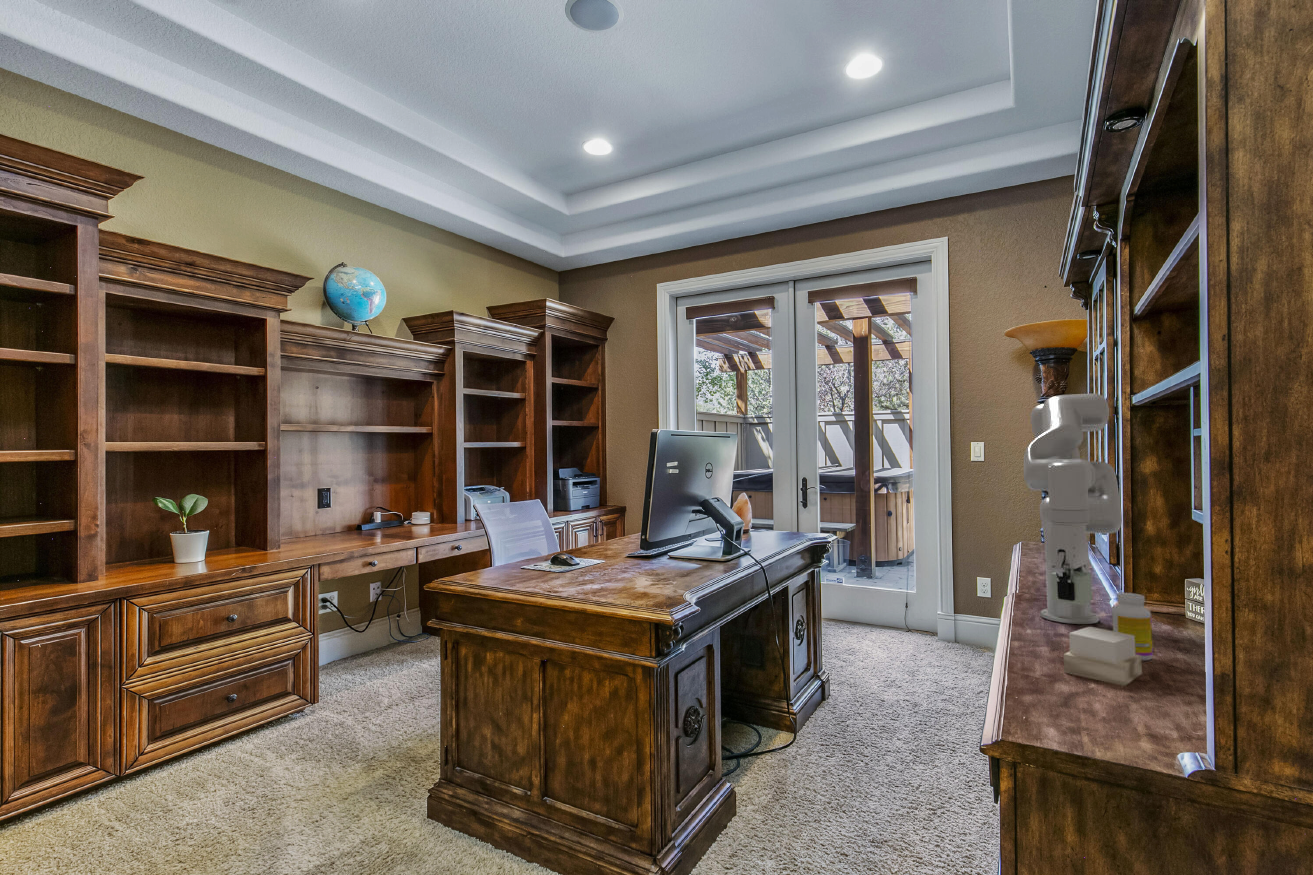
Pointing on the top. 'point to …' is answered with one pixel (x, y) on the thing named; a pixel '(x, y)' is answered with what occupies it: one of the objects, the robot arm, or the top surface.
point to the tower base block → (1103, 668)
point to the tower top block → (1102, 644)
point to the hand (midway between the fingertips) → (1071, 596)
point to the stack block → (1075, 587)
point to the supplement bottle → (1134, 622)
